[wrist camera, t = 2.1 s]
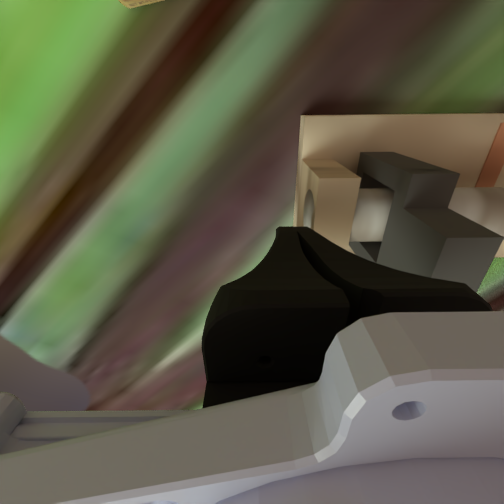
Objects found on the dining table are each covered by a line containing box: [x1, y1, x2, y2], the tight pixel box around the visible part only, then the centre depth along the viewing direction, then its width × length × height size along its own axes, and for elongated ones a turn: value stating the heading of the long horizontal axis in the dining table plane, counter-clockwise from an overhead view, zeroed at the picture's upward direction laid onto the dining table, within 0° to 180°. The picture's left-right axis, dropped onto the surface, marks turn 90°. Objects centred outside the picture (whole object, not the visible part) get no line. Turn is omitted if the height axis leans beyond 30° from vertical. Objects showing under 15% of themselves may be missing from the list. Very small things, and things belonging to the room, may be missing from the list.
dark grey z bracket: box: [349, 152, 504, 292], centre depth 14 cm, size 6×2×9 cm, turn 0°
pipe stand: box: [293, 113, 504, 257], centre depth 17 cm, size 10×18×7 cm, turn 91°
